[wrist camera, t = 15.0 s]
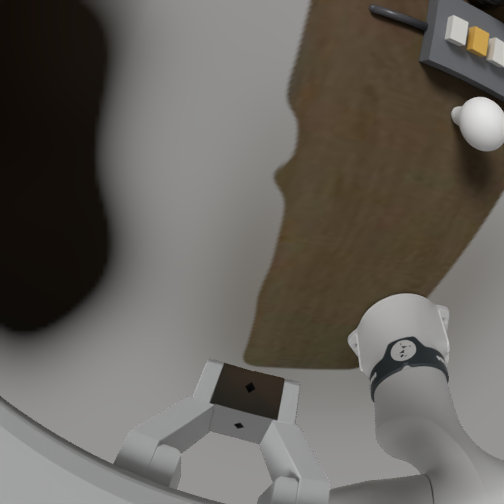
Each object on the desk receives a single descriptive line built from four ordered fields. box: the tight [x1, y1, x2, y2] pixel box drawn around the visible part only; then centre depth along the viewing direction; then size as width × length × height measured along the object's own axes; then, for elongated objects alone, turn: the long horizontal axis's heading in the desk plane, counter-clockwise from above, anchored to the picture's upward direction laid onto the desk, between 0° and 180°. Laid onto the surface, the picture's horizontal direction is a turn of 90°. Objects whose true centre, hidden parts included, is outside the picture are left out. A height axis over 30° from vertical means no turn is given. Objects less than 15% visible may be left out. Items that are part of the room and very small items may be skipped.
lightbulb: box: [451, 97, 504, 151], centre depth 28 cm, size 6×6×11 cm
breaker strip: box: [369, 0, 504, 102], centre depth 25 cm, size 22×10×6 cm, turn 80°
